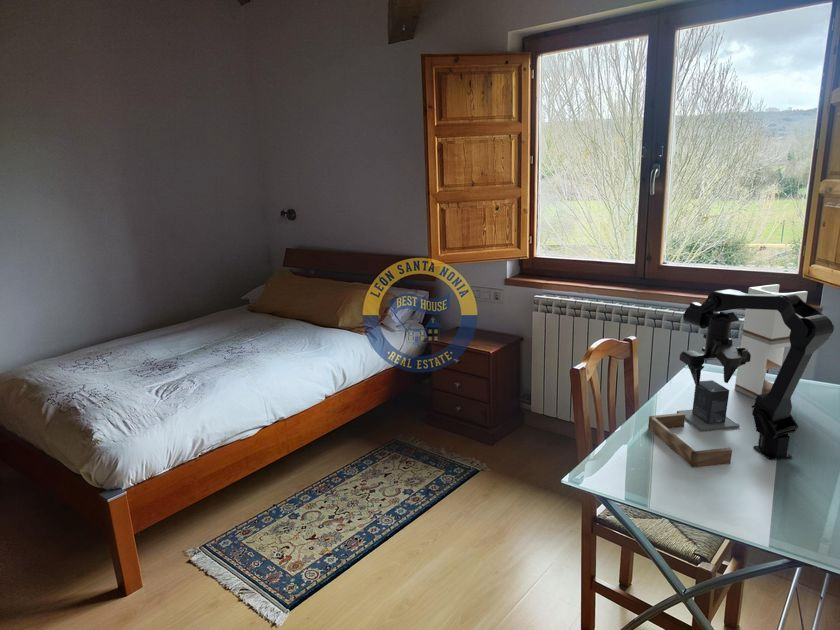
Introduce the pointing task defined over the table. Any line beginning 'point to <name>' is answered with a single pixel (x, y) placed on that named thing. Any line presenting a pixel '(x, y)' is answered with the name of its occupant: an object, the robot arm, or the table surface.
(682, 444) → the frame
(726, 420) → the slate mat
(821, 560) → the table surface
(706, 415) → the box
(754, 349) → the display case
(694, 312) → the robot arm
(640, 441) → the table surface
